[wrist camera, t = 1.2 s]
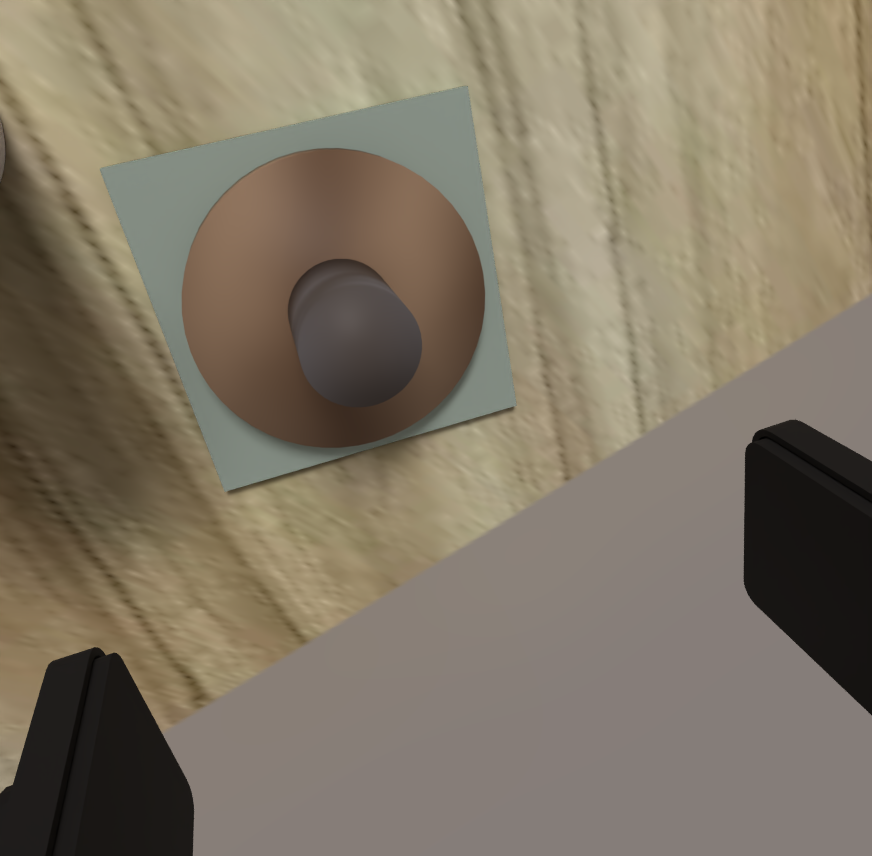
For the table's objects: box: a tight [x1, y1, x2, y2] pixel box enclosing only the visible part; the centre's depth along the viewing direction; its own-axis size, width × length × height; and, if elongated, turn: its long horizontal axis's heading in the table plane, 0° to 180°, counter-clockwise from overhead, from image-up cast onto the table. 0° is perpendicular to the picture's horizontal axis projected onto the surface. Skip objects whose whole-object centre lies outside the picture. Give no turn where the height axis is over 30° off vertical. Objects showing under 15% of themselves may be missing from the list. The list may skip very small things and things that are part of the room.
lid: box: [182, 148, 485, 448], centre depth 23 cm, size 10×10×5 cm
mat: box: [100, 86, 517, 492], centre depth 25 cm, size 12×12×1 cm
